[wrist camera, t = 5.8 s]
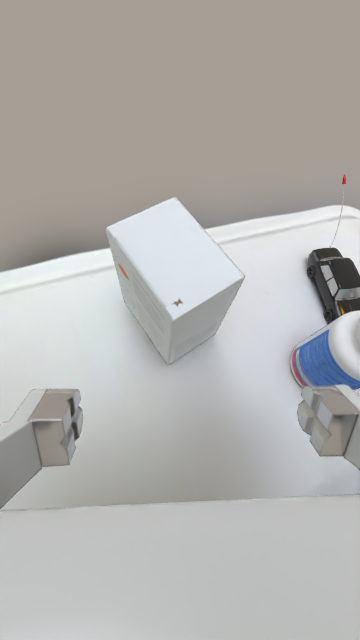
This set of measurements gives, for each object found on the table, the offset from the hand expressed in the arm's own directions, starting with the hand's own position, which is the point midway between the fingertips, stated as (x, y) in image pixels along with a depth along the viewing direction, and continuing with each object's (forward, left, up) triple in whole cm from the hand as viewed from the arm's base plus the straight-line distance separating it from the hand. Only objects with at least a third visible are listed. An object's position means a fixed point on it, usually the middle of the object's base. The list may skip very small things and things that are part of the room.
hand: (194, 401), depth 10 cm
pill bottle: (+14, +4, -15) cm, 21 cm away
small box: (0, +9, -15) cm, 17 cm away
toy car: (+17, +14, -14) cm, 27 cm away
